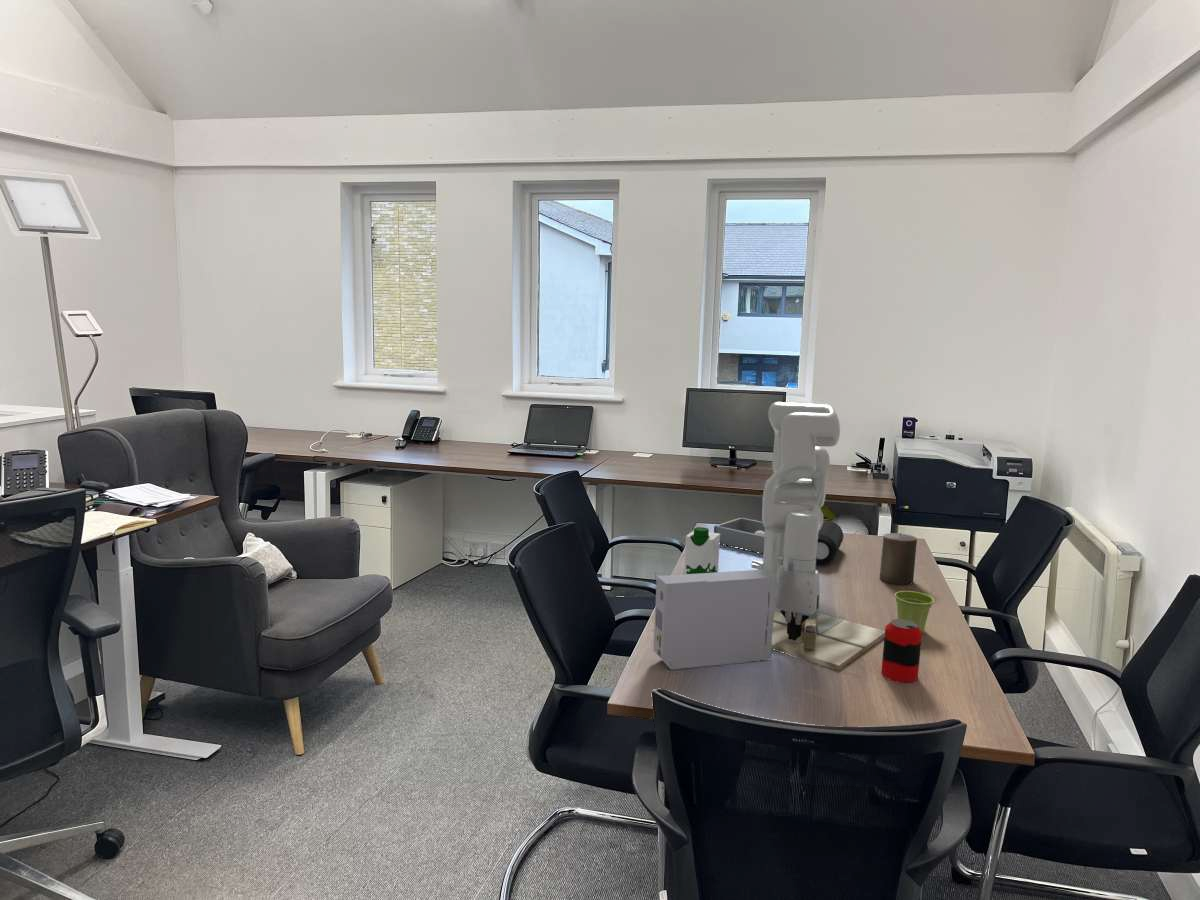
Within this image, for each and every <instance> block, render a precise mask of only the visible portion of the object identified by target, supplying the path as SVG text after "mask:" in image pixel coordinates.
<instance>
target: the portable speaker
mask: <svg viewBox="0 0 1200 900" xmlns="http://www.w3.org/2000/svg"><path fill="white" fill-rule="evenodd" d="M843 541H844V531H843V530H842V528H841V526H840V525H839V524H838V523H836V522H834V521H831V520H825V521H824V520H823V526H822V528H821V529H820V530H819V532H818V543H817V555H816V565H818V564H819V566H825V565H828V564H831V562H833V561H834V560H835V557H836V556H837V554H838V552H839V550H840V547H841V545H842V543H843Z"/></svg>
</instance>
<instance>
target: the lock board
mask: <svg viewBox="0 0 1200 900" xmlns="http://www.w3.org/2000/svg"><path fill="white" fill-rule="evenodd" d="M794 616H795V620H796V617H797V613H794ZM884 637H885V630H882V629H879V628H875V627H871V626H868V625H864V624H861V623H857V622H853V621H849V620H845V619H843V618H838V617H835V616H831V615H827V614H825V613H822V612H821V613H820V612H819V617H818V630H817V631H816V639H815V649H809V648H804V630H803V629H802V630H801V636H800V637H798V638H797V639H796V640H795V641H794V640H793V639H791V640H790V639H788V634H787V622H786V619H785V617H784V616H783V615H782V613H780V612H778V611H776V610H774V620H773V634H772V649H775V650H778V651H781V652H784V653H787V654H790V655H789V656H791V655H793V656H792V657H794V656H795V657H794V658H797V657H798V658H797V659H800V658H801V660H803V659H805V660H804V661H807V660H808V662H810V661H811V662H810V663H813V662H814V664H816V663H817V665H821V666H822V667H823V666H824V667H826V668H829V669H832V670H835V671H840V670H842V668H844V667H845V666H847V665H848V664H850V663H851V662H852V661H854V660H855V659H856V658H858V657H859V656H861V655H862V654H863V653H865V652H866V651H867V650H869V649H870V648H872V647H873V646H874V645H876V644H877V643H879V642H880V641H881V640H884ZM871 646H872V647H871ZM775 650H774V651H775ZM778 651H777V652H778ZM781 652H780V653H781ZM784 653H783V654H784ZM787 654H786V655H787ZM860 654H861V655H860ZM853 659H854V660H853Z"/></svg>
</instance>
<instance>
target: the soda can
mask: <svg viewBox="0 0 1200 900" xmlns="http://www.w3.org/2000/svg"><path fill="white" fill-rule="evenodd" d="M884 631H885V637H884V638H883V646H882V647H883V649H882V658H881V659H882V661H881V673H882V675H883V676H884V677H885V678H886V677H887V678H886V679H888V678H889V679H888V680H890V679H891V681H893V680H894V681H893V682H896V681H897V683H902V684H903V682H904V683H905V684H906V683H907V684H908V683H909V682H910V683H913V682H915V681H916V680H918V678H919V669H920V658H921V649H922V637H923V632H922V631H921V630H920V628H919V627H918V625H917V624H916V623H914V622H912V621H909V620H904V619H898V618H895V619H891V620H890V621H889V623H888V624H886V625H885V627H884ZM910 683H909V684H910Z"/></svg>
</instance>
